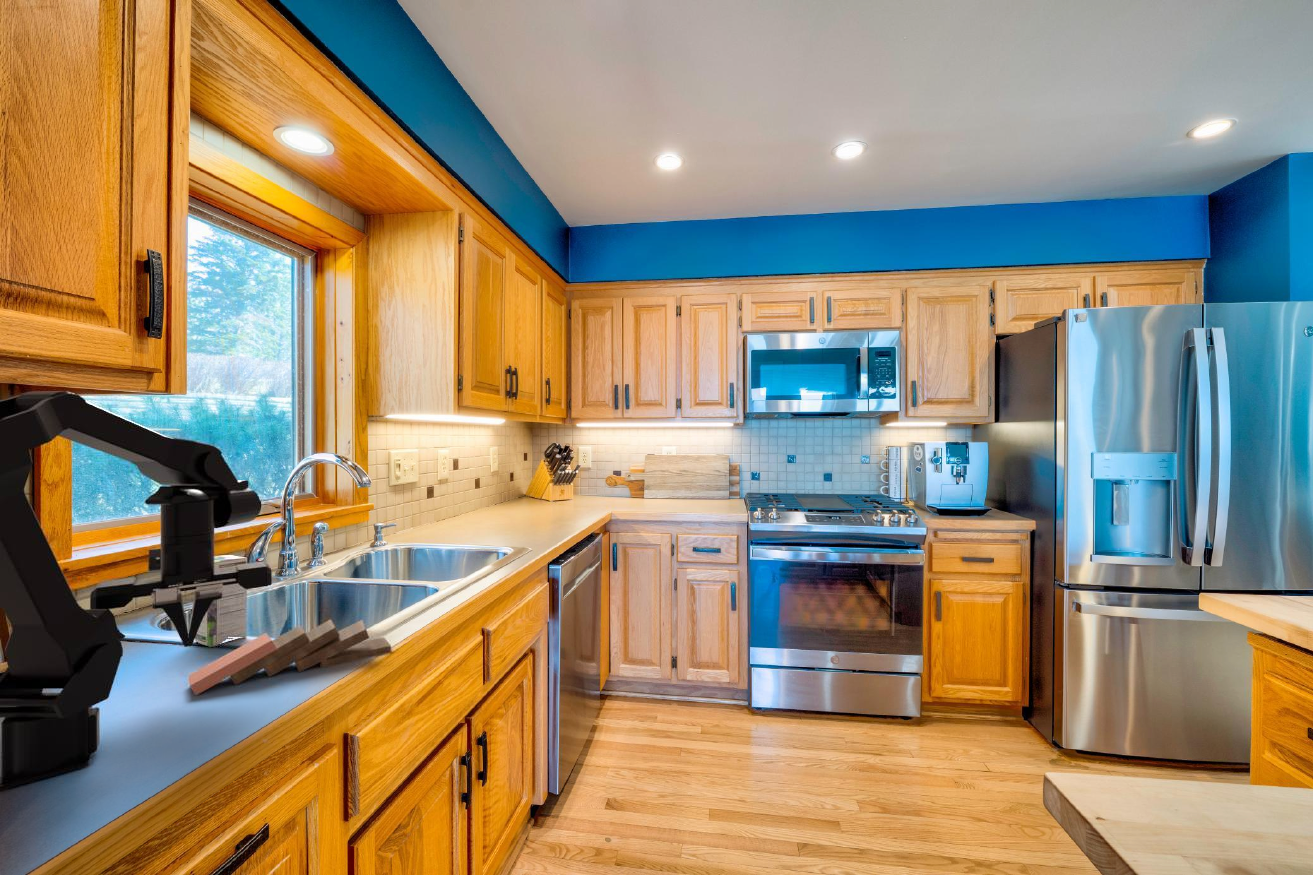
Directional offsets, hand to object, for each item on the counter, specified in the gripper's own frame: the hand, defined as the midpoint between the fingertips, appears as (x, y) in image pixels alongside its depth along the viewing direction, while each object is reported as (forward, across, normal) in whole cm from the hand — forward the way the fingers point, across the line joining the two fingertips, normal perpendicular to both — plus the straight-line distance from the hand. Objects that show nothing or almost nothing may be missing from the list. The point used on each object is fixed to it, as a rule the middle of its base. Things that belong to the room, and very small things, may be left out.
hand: (188, 645), depth 76 cm
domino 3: (+6, -9, -1) cm, 11 cm away
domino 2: (+6, -5, -1) cm, 7 cm away
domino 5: (+6, -16, 0) cm, 17 cm away
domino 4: (+6, -13, 0) cm, 14 cm away
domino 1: (+6, 0, 0) cm, 6 cm away
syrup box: (+7, -4, -23) cm, 24 cm away
